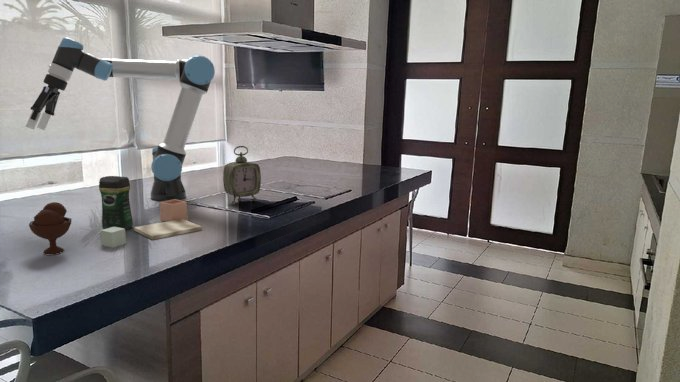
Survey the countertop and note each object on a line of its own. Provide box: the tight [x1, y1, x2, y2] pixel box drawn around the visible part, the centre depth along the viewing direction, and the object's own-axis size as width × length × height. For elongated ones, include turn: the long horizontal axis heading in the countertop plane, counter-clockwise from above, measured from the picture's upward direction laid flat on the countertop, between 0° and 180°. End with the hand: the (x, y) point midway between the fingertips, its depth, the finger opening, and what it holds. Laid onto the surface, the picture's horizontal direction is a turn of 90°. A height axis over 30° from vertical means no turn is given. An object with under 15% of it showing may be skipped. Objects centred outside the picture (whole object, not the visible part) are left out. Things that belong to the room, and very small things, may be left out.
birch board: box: [133, 219, 203, 241], centre depth 171 cm, size 18×14×1 cm
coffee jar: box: [98, 175, 134, 230], centre depth 171 cm, size 10×8×19 cm
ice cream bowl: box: [28, 201, 72, 255], centre depth 145 cm, size 11×11×15 cm
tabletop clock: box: [222, 145, 262, 206], centre depth 214 cm, size 14×9×25 cm, turn 131°
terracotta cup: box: [159, 199, 189, 222], centre depth 185 cm, size 7×7×7 cm
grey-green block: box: [99, 227, 127, 248], centre depth 154 cm, size 5×5×5 cm
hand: (35, 128), depth 187 cm, fingers open, 13 cm apart
